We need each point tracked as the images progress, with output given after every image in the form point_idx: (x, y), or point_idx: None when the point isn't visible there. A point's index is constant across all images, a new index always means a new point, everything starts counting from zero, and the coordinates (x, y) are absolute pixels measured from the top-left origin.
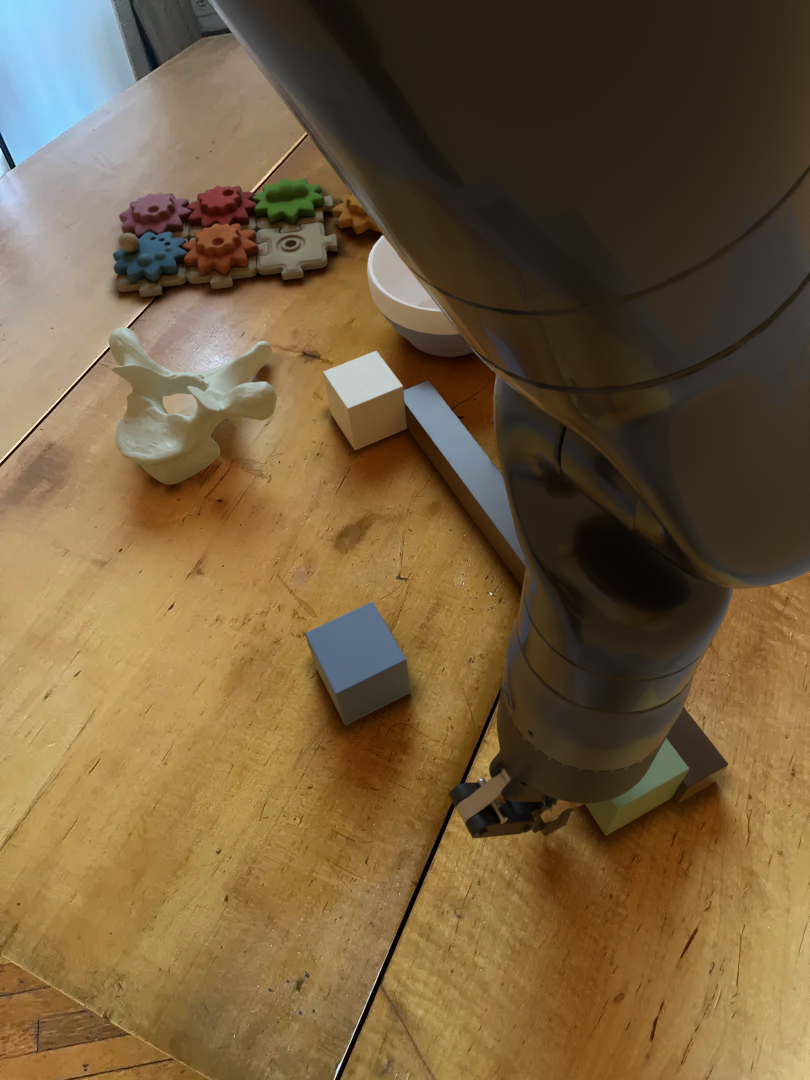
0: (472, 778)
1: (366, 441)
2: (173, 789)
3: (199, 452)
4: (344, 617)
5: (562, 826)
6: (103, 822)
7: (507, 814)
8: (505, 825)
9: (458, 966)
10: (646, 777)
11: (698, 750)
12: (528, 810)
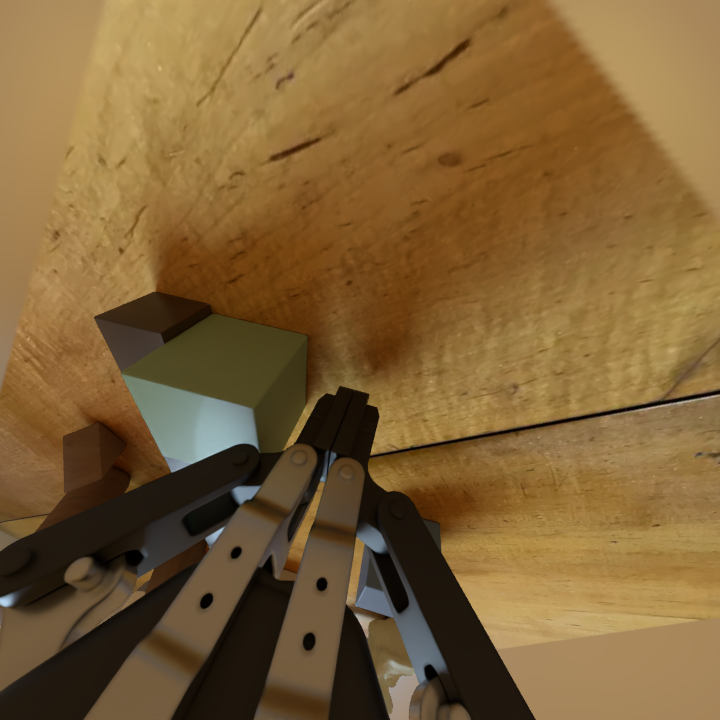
0: (386, 448)
1: (289, 576)
2: (584, 572)
3: (381, 639)
4: (384, 614)
5: (343, 390)
6: (647, 591)
7: (425, 636)
8: (452, 657)
9: (575, 353)
10: (189, 405)
11: (129, 353)
12: (375, 530)
